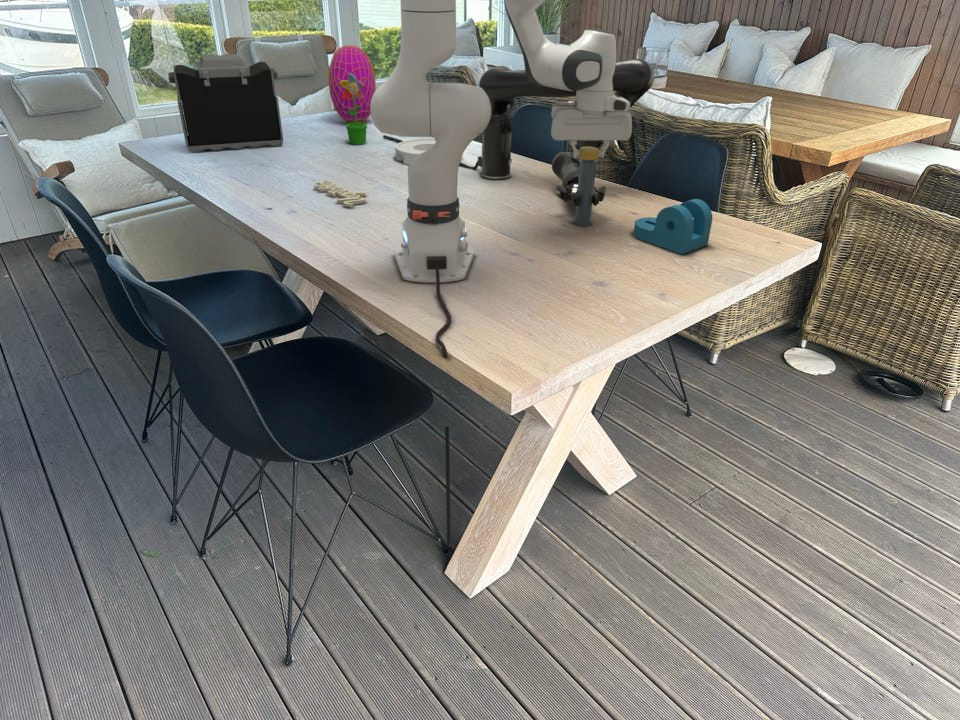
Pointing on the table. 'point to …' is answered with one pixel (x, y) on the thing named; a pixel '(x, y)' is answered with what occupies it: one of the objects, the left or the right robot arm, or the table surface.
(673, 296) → the table surface
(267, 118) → the electronic device
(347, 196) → the decorative sign
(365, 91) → the decorative egg
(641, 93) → the right robot arm
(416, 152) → the ashtray
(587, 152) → the lid
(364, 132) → the potted flower
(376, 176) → the table surface
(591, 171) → the grey long cylinder
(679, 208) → the camera mount
